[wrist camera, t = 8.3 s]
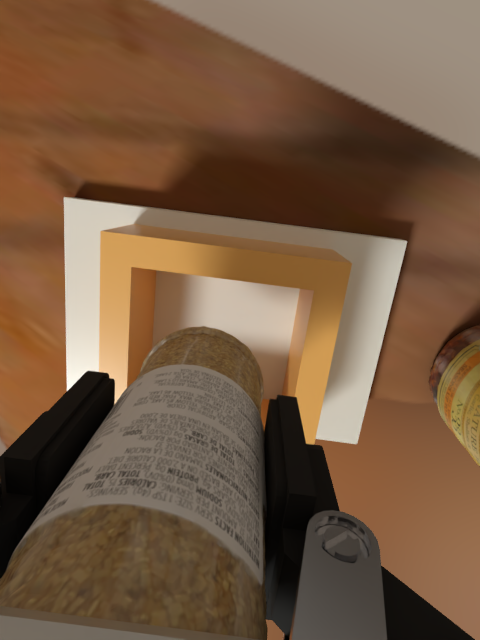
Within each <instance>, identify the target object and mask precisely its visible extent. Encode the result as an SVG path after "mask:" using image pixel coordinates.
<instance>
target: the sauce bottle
mask: <svg viewBox="0 0 480 640" xmlns="http://www.w3.org/2000/svg"><path fill="white" fill-rule="evenodd" d="M429 384H430V389H431V392H432V395H433V397H434V402H435V403H436V404H437V406H438V409H439V412H440V415H441V417H442V419H443V420H444V422H445V423H446V424H447V426H448V427H449V428H450V430H451V431H452V432H453V433H454V435H455V436H456V437H457V438H458V440H459V441H460V442H461V444H462V445H463V446H464V447H465V449H466V450H467V451H468V453H469V454H470V455H471V456H472V458H473V459H474V460H475V462H476V463H477V464H478V465H479V467H480V325H477V326H474V327H471V328H468V329H466V330H464V331H462V332H461V333H460V334H457V335H456V336H455V337H454V338H452V339H451V340H450V341H448V343H447V344H446V345H445V346H444V348H443V349H442V350H441V352H440V353H439V354H438V356H437V358H436V360H435V362H434V364H433V366H432V368H431V376H430V378H429Z"/></svg>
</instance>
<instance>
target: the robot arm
mask: <svg viewBox="0 0 480 640" xmlns="http://www.w3.org/2000/svg"><path fill="white" fill-rule="evenodd" d="M114 404H115V380H114V379H112V378H109V374H108V373H104V372H96V371H87V372H85V373H84V374H83V376H82V377H81V378H80V379H79V380H78V381H77V382H76V383H75V384H74V385H73V386H72V387H71V388H70V389H69V390H68V391H67V392H66V393H65V394H64V395H63V396H62V397H61V398H60V399H59V400H58V401H57V402H56V403H55V404H54V405H53V406H52V408H51V409H50V410H49V411H46V412H44V413H43V414H42V415H41V416H40V417H39V418H38V419H37V420H36V421H35V422H34V423H33V424H32V425H31V426H30V427H29V428H28V429H27V430H26V431H25V432H24V433H23V434H22V435H21V436H20V437H19V438H18V439H17V440H16V441H15V442H14V443H13V444H12V445H11V446H10V447H9V448H8V449H7V450H6V451H5V452H4V453H3V454H2V455H1V456H0V579H1V578H2V576H3V575H4V573H5V572H6V570H7V566H8V563H9V561H10V558H11V556H12V554H13V552H14V550H15V549H16V547H17V546H18V544H19V543H20V541H21V540H22V538H23V537H24V535H25V534H26V532H27V531H28V529H29V528H30V527H31V525H32V524H33V522H34V521H35V519H36V518H37V516H38V515H39V514H40V512H41V511H42V509H43V508H44V506H45V505H46V503H47V502H48V501H49V499H50V498H51V496H52V495H53V493H54V492H55V490H56V489H57V488H58V486H59V485H60V483H61V482H62V480H63V479H64V477H65V476H66V475H67V473H68V472H69V470H70V469H71V467H72V466H73V464H74V463H75V461H76V460H77V459H78V457H79V456H80V454H81V453H82V451H83V450H84V448H85V447H86V445H87V444H88V443H89V441H90V440H91V438H92V437H93V435H94V434H95V432H96V431H97V429H98V428H99V426H100V425H101V423H102V422H103V421H104V419H105V418H106V416H107V415H108V413H109V412H110V410H111V409H112V408H113V406H114ZM264 443H265V475H266V502H267V517H266V523H265V592H266V606H267V610H266V618H265V619H267V620H273V621H274V622H275V623H276V625H277V626H278V627H279V628H280V629H281V630H282V631H283V632H284V635H283V640H475V639H473V638H472V637H471V636H470V635H468V634H467V633H465V631H463V630H462V629H461V628H460V627H458V626H457V625H455V624H454V623H453V622H452V621H451V620H449V619H448V618H447V617H446V616H444V615H443V614H442V613H441V612H439V611H438V610H436V608H434V607H433V606H432V605H430V604H429V603H428V602H427V601H425V600H424V599H423V598H422V597H420V596H419V595H418V594H417V593H415V592H414V591H413V590H412V589H410V588H409V587H408V586H406V585H405V584H404V583H403V582H401V581H400V580H399V579H398V578H396V577H395V576H394V575H393V574H391V573H390V572H389V571H388V570H386V569H385V568H384V567H382V566H381V560H380V549H379V545H378V541H377V539H376V537H375V536H374V534H373V533H372V531H371V530H370V529H369V528H368V527H367V526H366V525H365V524H364V523H363V522H361V521H360V520H358V519H357V518H355V517H354V516H351V515H349V514H346V513H344V512H340V511H339V507H338V503H337V499H336V496H335V492H334V488H333V484H332V480H331V477H330V473H329V469H328V466H327V462H326V458H325V454H324V450H323V448H322V446H320V445H313V444H306V441H305V436H304V431H303V426H302V421H301V416H300V411H299V406H298V401H297V397H292V396H284V395H277V398H276V399H270V400H269V405H268V411H267V417H266V424H265V430H264ZM0 640H259V639H252V638H244V637H237V636H229V635H222V634H214V633H207V632H200V631H192V630H185V629H177V628H170V627H162V626H154V625H146V624H138V623H131V622H123V621H115V620H107V619H100V618H92V617H84V616H76V615H68V614H60V613H52V612H44V611H36V610H29V609H21V608H13V607H4V606H0Z"/></svg>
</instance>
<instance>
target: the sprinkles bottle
mask: <svg viewBox="0 0 480 640" xmlns="http://www.w3.org/2000/svg"><path fill="white" fill-rule="evenodd" d="M263 395H264V387H263V376H262V373H261V369H260V366H259V364H258V362H257V361H256V358H255V357H254V355H253V354H252V352H251V351H250V349H249V348H248V346H246V345H245V344H244V343H242V342H240V341H239V340H238V339H237V338H235V337H234V336H232V335H230V334H228V333H226V332H224V331H222V330H219V329H215V328H209V327H206V326H201V327H189V328H185V329H182V330H177V331H175V332H173V333H171V334H169V335H167V336H165V337H164V338H162V339H161V340H159V341H158V342H157V343H156V345H155V346H154V347H153V348H152V349H151V350H150V351H149V353H148V355H147V357H146V358H145V360H144V362H143V364H142V367H141V370H140V373H139V375H138V376H137V378H136V380H135V381H134V382H133V383H132V384H131V385H130V386H128V388H127V389H126V390H125V391H124V392H123V393H122V395H121V396H120V398H119V399H118V400H117V402H116V403H115V405H114V406H113V408H112V409H111V410H110V412H109V413H108V415H107V416H106V418H105V419H104V421H103V422H102V423H101V425H100V426H99V428H98V429H97V431H96V432H95V434H94V435H93V437H92V438H91V440H90V441H89V443H88V444H87V445H86V447H85V448H84V450H83V451H82V453H81V454H80V456H79V457H78V459H77V460H76V461H75V463H74V464H73V466H72V467H71V469H70V470H69V472H68V473H67V475H66V476H65V477H64V479H63V480H62V482H61V483H60V485H59V486H58V488H57V489H56V490H55V492H54V493H53V495H52V496H51V498H50V499H49V501H48V502H47V503H46V505H45V506H44V508H43V509H42V511H41V512H40V514H39V515H38V516H37V518H36V519H35V521H34V522H33V524H32V525H31V527H30V528H29V529H28V531H27V532H26V534H25V535H24V537H23V538H22V540H21V541H20V543H19V544H18V546H17V547H16V549H15V550H14V552H13V554H12V556H11V558H10V561H9V563H8V566H7V570H6V572H5V573H4V575H3V576H2V578H1V579H0V606H4V607H13V608H21V609H29V610H36V611H44V612H52V613H60V614H68V615H76V616H84V617H92V618H100V619H107V620H115V621H123V622H131V623H138V624H146V625H154V626H162V627H170V628H177V629H185V630H192V631H200V632H207V633H214V634H222V635H229V636H237V637H244V638H252V639H259V640H267V624H266V620H265V618H266V610H267V606H266V592H265V523H266V517H267V502H266V475H265V443H264V428H263V423H262V419H261V403H262V399H263Z"/></svg>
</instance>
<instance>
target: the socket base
mask: <svg viewBox="0 0 480 640" xmlns="http://www.w3.org/2000/svg"><path fill="white" fill-rule="evenodd" d="M64 236H65V298H66V360H67V391H68V390H69V389H70V388H71V387H72V386H73V385H74V384H75V383H76V382H77V381H78V380H79V379H80V378H81V377H82V376H83V374H84V373H85V372H87V371H96V372H104V373H108V374H109V378H112V379H114V380H115V403H116V402H117V400H118V399H119V398H120V396H121V395H122V393H123V392H124V391H125V390H126V389H127V388H128V386H130V385H131V384H132V383H133V382H134V381H135V380H136V378H137V376H138V375H139V373H140V370H141V367H142V364H143V362H144V360H145V358H146V357H147V355H148V353H149V351H150V350H151V349H152V348H153V347H154V346H155V345H156V343H157V342H158V341H159V340H161V339H162V338H164V337H165V336H167V335H169V334H171V333H173V332H175V331H177V330H182V329H185V328H189V327H201V326H206V327H209V328H215V329H219V330H222V331H224V332H226V333H228V334H230V335H232V336H234V337H235V338H237V339H238V340H239V341H240V342H242V343H244V344H245V345H246V346H248V348H249V349H250V351H251V352H252V354H253V355H254V357H255V358H256V361H257V362H258V364H259V366H260V369H261V373H262V376H263V387H264V395H263V399H262V403H261V419H262V423H263V428H264V430H265V424H266V417H267V411H268V405H269V400H270V399H276V398H277V395H284V396H292V397H297V401H298V406H299V411H300V416H301V421H302V426H303V431H304V436H305V441H306V444H313V445H314V443H315V439H322V440H329V441H337V442H345V443H352V444H357V442H358V438H359V433H360V430H361V425H362V422H363V418H364V413H365V410H366V406H367V402H368V398H369V394H370V390H371V386H372V382H373V378H374V374H375V370H376V366H377V362H378V358H379V354H380V350H381V346H382V342H383V338H384V333H385V329H386V325H387V321H388V317H389V313H390V309H391V305H392V301H393V297H394V293H395V289H396V285H397V281H398V277H399V273H400V269H401V265H402V261H403V257H404V253H405V249H406V245H407V241H405V240H402V239H397V238H389V237H381V236H373V235H365V234H357V233H350V232H342V231H334V230H326V229H318V228H310V227H303V226H295V225H287V224H279V223H271V222H263V221H256V220H248V219H240V218H232V217H224V216H216V215H209V214H201V213H193V212H185V211H177V210H169V209H162V208H154V207H146V206H138V205H130V204H122V203H115V202H107V201H99V200H91V199H83V198H75V197H64ZM114 405H115V404H114Z"/></svg>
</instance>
